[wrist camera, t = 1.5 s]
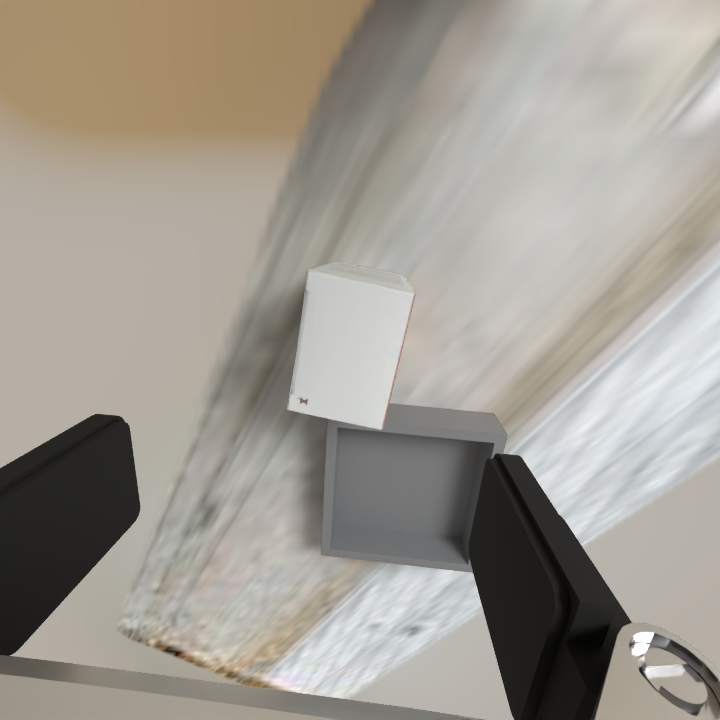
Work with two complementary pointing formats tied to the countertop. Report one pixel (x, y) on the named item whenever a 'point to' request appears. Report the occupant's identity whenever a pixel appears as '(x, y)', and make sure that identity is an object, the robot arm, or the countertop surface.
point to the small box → (350, 343)
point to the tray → (407, 486)
